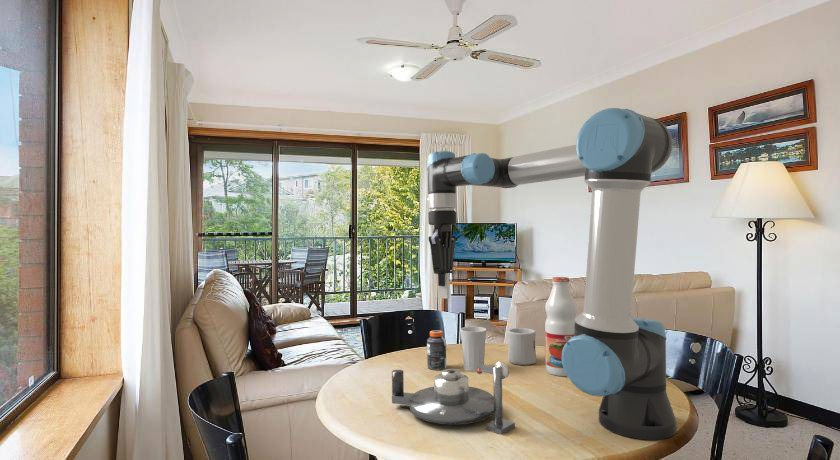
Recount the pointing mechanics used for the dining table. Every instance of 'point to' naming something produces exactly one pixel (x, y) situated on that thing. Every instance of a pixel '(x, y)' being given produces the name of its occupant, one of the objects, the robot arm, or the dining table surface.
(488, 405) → the turntable
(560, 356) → the fruit juice
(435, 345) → the pill bottle
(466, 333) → the cup
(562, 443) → the dining table surface
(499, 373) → the indicator
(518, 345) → the mug
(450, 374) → the cover
